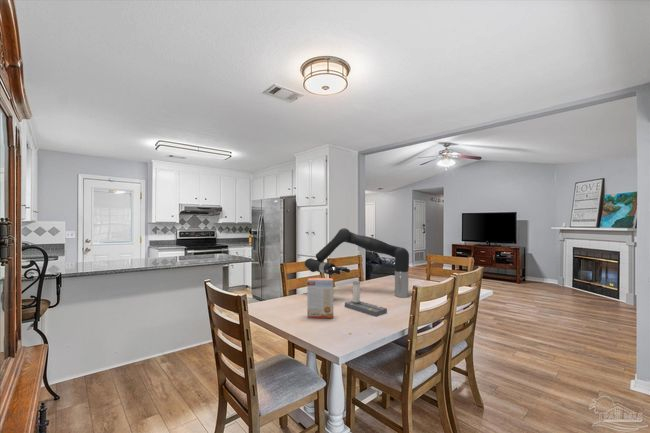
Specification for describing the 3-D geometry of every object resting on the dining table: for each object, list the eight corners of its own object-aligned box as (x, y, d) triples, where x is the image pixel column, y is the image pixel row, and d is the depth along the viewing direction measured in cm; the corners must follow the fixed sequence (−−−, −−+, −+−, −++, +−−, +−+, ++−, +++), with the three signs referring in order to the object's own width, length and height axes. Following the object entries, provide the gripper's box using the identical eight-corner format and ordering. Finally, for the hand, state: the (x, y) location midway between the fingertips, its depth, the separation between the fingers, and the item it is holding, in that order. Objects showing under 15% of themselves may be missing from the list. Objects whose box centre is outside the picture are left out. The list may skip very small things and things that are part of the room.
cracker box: (333, 315, 176) (333, 277, 176) (332, 318, 170) (332, 280, 170) (308, 314, 177) (308, 277, 177) (307, 317, 171) (307, 279, 171)
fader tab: (351, 302, 191) (351, 281, 191) (356, 301, 194) (356, 280, 194) (356, 303, 188) (356, 282, 188) (361, 302, 191) (361, 281, 191)
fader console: (344, 306, 191) (344, 302, 191) (355, 303, 198) (355, 299, 198) (375, 316, 173) (375, 311, 173) (386, 312, 180) (386, 308, 180)
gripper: (319, 263, 205) (336, 267, 193) (335, 261, 215) (352, 264, 203) (319, 275, 205) (336, 279, 193) (334, 272, 215) (352, 276, 203)
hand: (344, 271), depth 198 cm, fingers open, 8 cm apart
